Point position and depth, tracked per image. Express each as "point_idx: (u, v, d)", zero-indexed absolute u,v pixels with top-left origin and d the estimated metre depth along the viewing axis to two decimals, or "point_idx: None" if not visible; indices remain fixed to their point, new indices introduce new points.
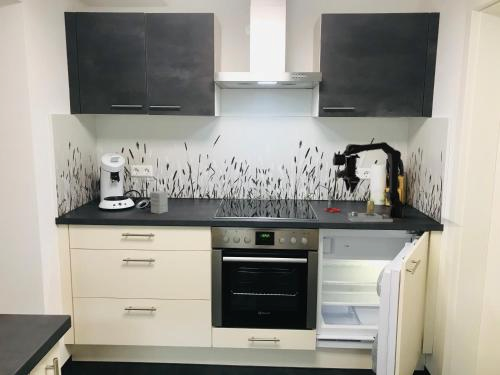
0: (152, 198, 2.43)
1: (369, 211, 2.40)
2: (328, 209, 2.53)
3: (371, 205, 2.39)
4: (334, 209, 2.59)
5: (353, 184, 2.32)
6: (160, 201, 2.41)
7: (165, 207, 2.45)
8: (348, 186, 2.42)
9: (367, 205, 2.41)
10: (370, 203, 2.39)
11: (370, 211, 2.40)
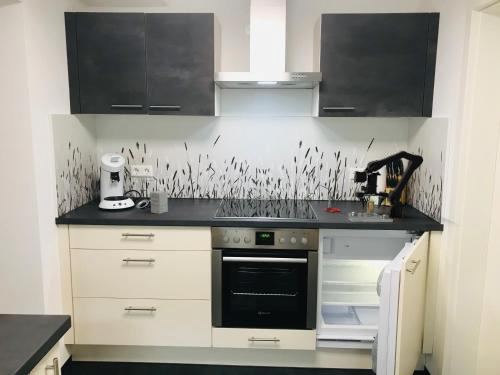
0: (152, 198, 2.43)
1: (369, 211, 2.40)
2: (328, 209, 2.53)
3: (371, 205, 2.39)
4: (334, 209, 2.59)
5: None
6: (160, 201, 2.41)
7: (165, 207, 2.45)
8: (378, 204, 2.41)
9: (367, 205, 2.41)
10: (370, 203, 2.39)
11: (370, 211, 2.40)
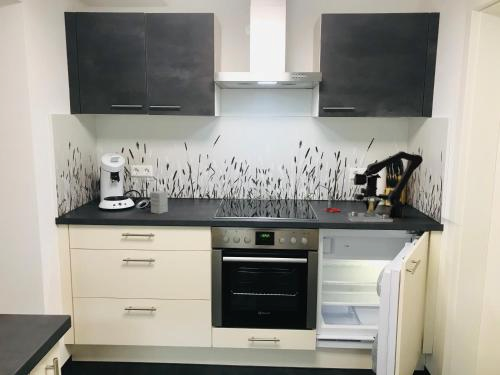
0: (152, 198, 2.43)
1: (369, 211, 2.40)
2: (328, 209, 2.53)
3: (371, 205, 2.39)
4: (334, 209, 2.59)
5: (365, 202, 2.40)
6: (160, 201, 2.41)
7: (165, 207, 2.45)
8: (374, 206, 2.41)
9: None
10: (370, 203, 2.39)
11: (370, 211, 2.40)
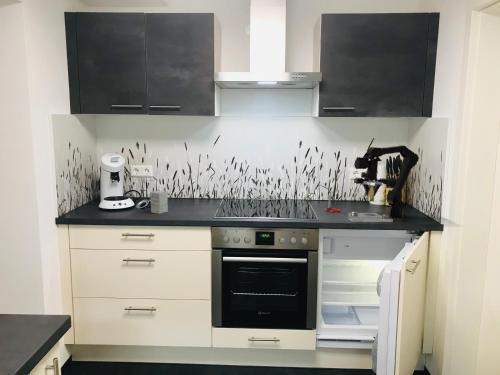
0: (152, 198, 2.43)
1: (369, 195, 2.34)
2: (328, 209, 2.53)
3: (371, 189, 2.33)
4: (334, 209, 2.59)
5: None
6: (160, 201, 2.41)
7: (165, 207, 2.45)
8: None
9: None
10: (370, 187, 2.33)
11: (370, 195, 2.34)
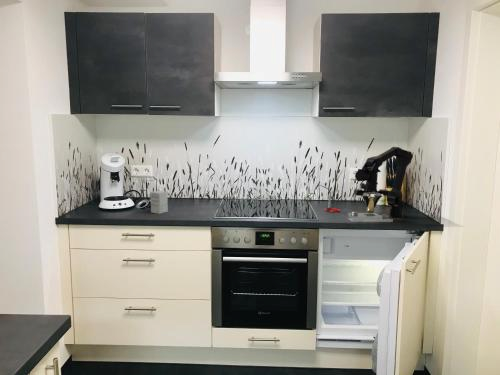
0: (152, 198, 2.43)
1: (369, 207, 2.29)
2: (328, 209, 2.53)
3: (371, 201, 2.28)
4: (334, 209, 2.59)
5: (365, 198, 2.30)
6: (160, 201, 2.41)
7: (165, 207, 2.45)
8: (374, 202, 2.30)
9: None
10: (370, 199, 2.28)
11: (370, 207, 2.29)
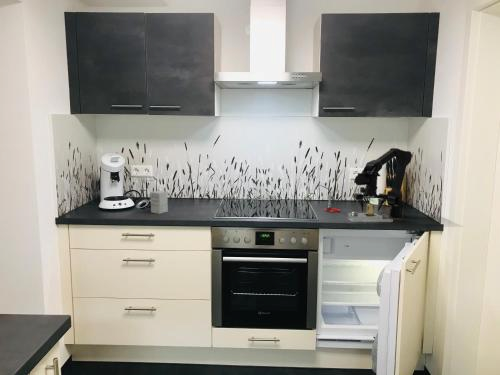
0: (152, 198, 2.43)
1: (369, 215, 2.30)
2: (328, 209, 2.53)
3: (371, 208, 2.29)
4: (334, 209, 2.59)
5: None
6: (160, 201, 2.41)
7: (165, 207, 2.45)
8: (378, 207, 2.31)
9: (367, 208, 2.31)
10: (370, 206, 2.29)
11: (370, 215, 2.30)
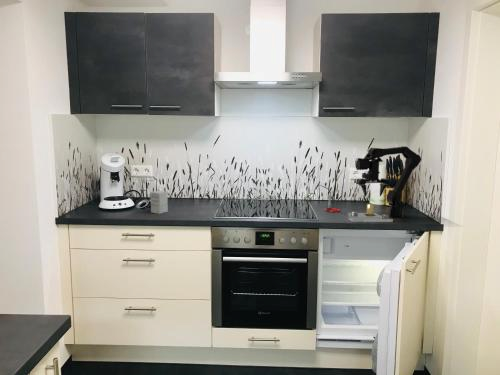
0: (152, 198, 2.43)
1: (369, 215, 2.30)
2: (328, 209, 2.53)
3: (371, 208, 2.29)
4: (334, 209, 2.59)
5: None
6: (160, 201, 2.41)
7: (165, 207, 2.45)
8: (380, 191, 2.36)
9: (367, 208, 2.31)
10: (370, 206, 2.29)
11: (370, 215, 2.30)
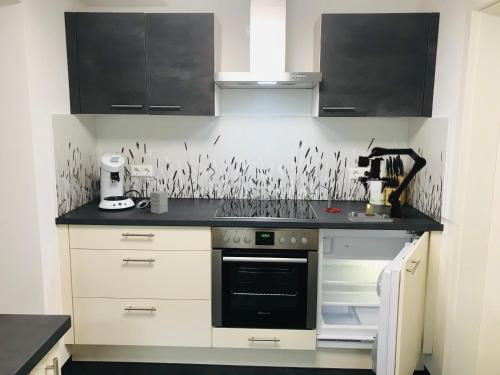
0: (152, 198, 2.43)
1: (369, 215, 2.30)
2: (328, 209, 2.53)
3: (371, 208, 2.29)
4: (334, 209, 2.59)
5: (365, 184, 2.43)
6: (160, 201, 2.41)
7: (165, 207, 2.45)
8: (382, 189, 2.43)
9: None
10: (370, 206, 2.29)
11: (370, 215, 2.30)
